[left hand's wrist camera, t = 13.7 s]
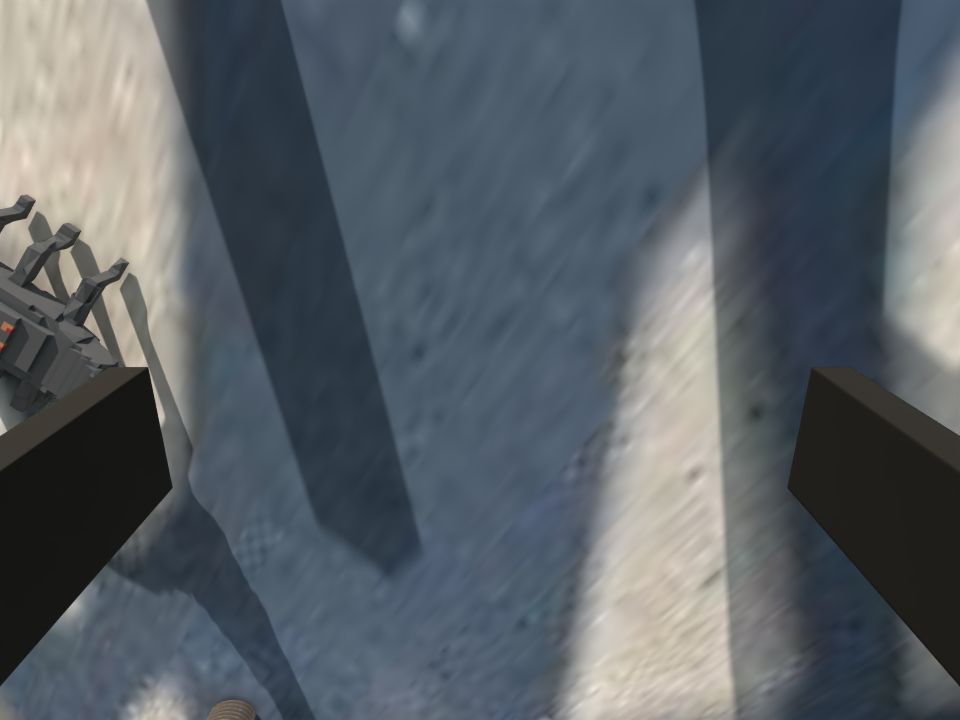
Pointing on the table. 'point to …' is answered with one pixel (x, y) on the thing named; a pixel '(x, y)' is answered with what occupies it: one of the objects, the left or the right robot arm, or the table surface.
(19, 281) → the toy
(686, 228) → the table surface
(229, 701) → the light bulb
